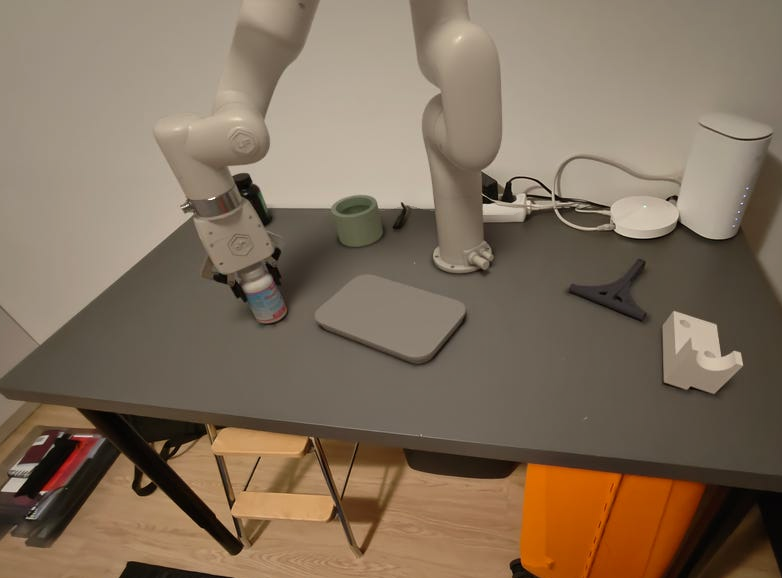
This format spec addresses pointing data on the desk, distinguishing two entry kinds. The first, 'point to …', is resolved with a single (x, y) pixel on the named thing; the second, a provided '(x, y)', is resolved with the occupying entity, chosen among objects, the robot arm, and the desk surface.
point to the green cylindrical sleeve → (357, 220)
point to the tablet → (392, 317)
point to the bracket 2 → (695, 354)
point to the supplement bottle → (252, 196)
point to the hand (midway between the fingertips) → (260, 290)
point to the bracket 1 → (615, 293)
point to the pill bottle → (262, 293)
